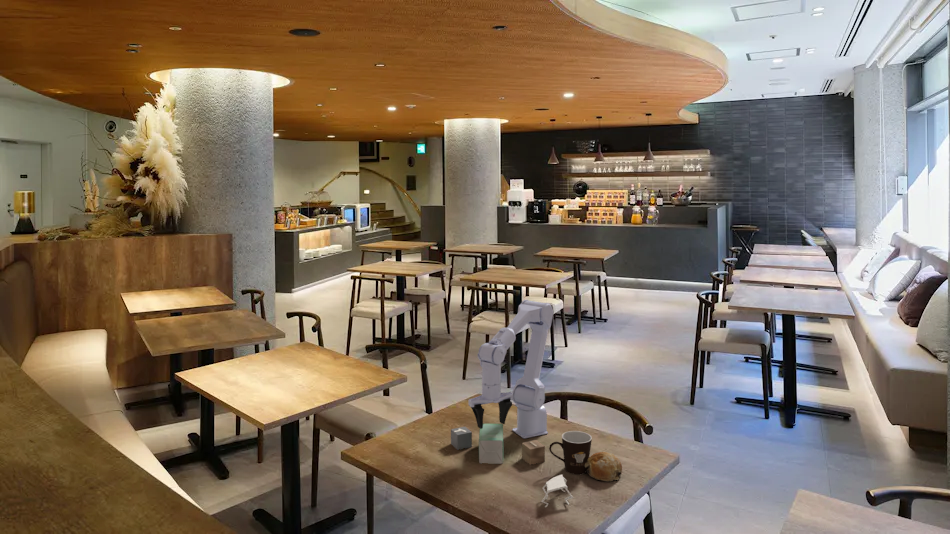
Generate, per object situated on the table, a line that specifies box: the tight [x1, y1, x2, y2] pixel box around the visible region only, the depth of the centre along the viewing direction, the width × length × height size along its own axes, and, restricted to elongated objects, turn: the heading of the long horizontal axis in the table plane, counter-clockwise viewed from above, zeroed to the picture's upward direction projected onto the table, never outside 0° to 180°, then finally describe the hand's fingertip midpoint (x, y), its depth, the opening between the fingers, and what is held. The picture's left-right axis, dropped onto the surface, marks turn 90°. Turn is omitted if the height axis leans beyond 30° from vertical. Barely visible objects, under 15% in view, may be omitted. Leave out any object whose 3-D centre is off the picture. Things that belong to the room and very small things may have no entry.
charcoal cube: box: [450, 426, 473, 451], centre depth 199 cm, size 5×5×5 cm
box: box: [478, 423, 504, 465], centre depth 193 cm, size 7×14×8 cm, turn 178°
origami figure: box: [541, 474, 574, 508], centre depth 166 cm, size 12×8×5 cm
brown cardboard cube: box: [521, 439, 546, 466], centre depth 188 cm, size 5×5×5 cm
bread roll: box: [585, 451, 623, 482], centre depth 179 cm, size 10×10×8 cm
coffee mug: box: [548, 430, 593, 476], centre depth 182 cm, size 12×9×10 cm
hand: (491, 425), depth 192 cm, fingers open, 7 cm apart
